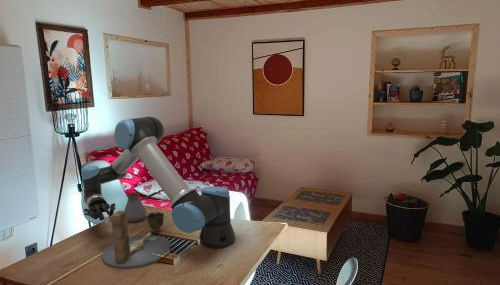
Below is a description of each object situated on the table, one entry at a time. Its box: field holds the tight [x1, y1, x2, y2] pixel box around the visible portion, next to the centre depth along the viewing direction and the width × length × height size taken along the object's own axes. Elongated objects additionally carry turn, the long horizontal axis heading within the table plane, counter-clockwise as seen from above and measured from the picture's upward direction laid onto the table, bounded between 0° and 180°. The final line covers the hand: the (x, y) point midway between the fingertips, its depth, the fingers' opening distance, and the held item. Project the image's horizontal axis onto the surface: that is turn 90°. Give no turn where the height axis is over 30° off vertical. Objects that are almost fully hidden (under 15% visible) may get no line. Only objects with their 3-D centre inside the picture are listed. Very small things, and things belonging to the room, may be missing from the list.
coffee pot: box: [123, 188, 165, 223], centre depth 176 cm, size 21×12×15 cm, turn 93°
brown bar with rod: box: [110, 210, 152, 263], centre depth 140 cm, size 24×5×18 cm, turn 167°
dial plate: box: [101, 234, 171, 270], centre depth 142 cm, size 26×26×2 cm
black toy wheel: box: [146, 211, 164, 233], centre depth 161 cm, size 8×7×8 cm
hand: (107, 219), depth 140 cm, fingers closed
